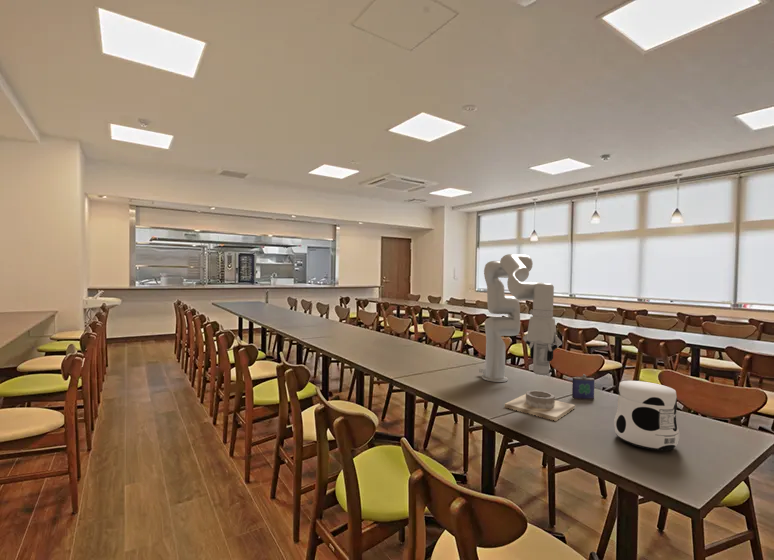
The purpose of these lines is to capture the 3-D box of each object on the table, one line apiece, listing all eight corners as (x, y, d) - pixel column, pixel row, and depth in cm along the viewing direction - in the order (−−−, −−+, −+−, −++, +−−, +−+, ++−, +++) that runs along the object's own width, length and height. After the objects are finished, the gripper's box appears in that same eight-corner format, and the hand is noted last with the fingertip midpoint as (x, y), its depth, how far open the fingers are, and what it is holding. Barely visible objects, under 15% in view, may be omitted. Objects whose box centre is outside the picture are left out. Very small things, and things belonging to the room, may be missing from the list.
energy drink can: (548, 372, 158) (549, 335, 158) (550, 376, 152) (551, 337, 152) (532, 371, 160) (533, 334, 160) (533, 374, 154) (534, 336, 154)
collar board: (504, 407, 156) (505, 393, 156) (526, 397, 170) (526, 384, 170) (556, 421, 142) (556, 406, 142) (574, 408, 157) (575, 395, 157)
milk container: (618, 428, 137) (620, 376, 137) (680, 442, 126) (682, 386, 126) (608, 443, 124) (610, 387, 124) (676, 461, 113) (679, 399, 113)
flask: (592, 398, 172) (593, 373, 171) (595, 400, 169) (596, 375, 168) (570, 397, 172) (571, 373, 172) (573, 399, 169) (574, 374, 169)
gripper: (517, 312, 159) (516, 357, 159) (561, 316, 147) (560, 364, 147) (525, 311, 164) (524, 354, 165) (568, 315, 153) (567, 361, 153)
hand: (541, 358), depth 156 cm, fingers closed on energy drink can, 5 cm apart
